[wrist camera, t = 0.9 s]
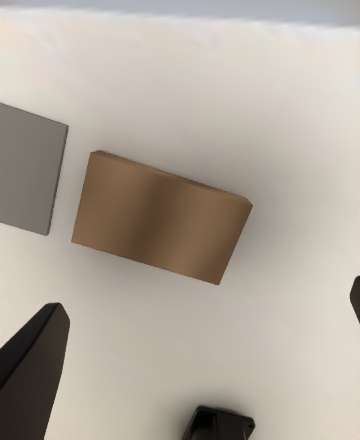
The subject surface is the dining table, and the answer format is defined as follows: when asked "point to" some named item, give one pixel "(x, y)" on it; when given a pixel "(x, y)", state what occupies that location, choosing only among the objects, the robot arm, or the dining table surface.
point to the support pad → (29, 168)
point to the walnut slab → (158, 218)
